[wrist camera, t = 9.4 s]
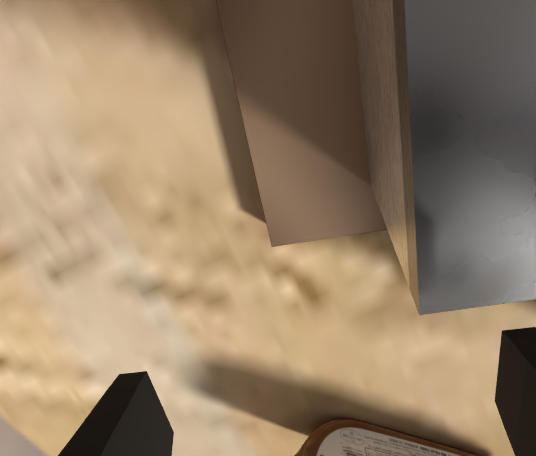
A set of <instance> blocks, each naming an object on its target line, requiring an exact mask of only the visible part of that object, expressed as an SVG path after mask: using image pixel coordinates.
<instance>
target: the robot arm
mask: <svg viewBox="0 0 536 456" xmlns="http://www.w3.org/2000/svg"><path fill="white" fill-rule="evenodd" d="M495 403H496V405H497V408H498V411H499V414H500V416H501V419H502V422H503V425H504V428H505V430H506V433H507V435H508V438H509V441H510V443H511V446H512V448H513V451H514V453H515V456H536V328H535V327H531V328H522V329H514V330H505V331H502V336H501V346H500V355H499V365H498V375H497V385H496V394H495ZM173 434H174V432H173V430H172V428H171V425H170V423H169V421H168V418H167V416H166V414H165V412H164V409H163V407H162V405H161V403H160V400H159V398H158V396H157V394H156V391H155V389H154V387H153V385H152V382H151V380H150V378H149V376H148V373H147V371H144V372H136V373H127V374H119V375H118V377H117V378H116V379H115V380H114V382H113V383H112V384H111V386H110V387H109V388H108V390H107V391H106V392H105V394H104V395H103V396H102V398H101V399H100V400H99V402H98V403H97V404H96V406H95V407H94V408H93V410H92V411H91V413H90V414H89V415H88V417H87V418H86V419H85V421H84V422H83V423H82V425H81V426H80V427H79V429H78V430H77V431H76V433H75V434H74V435H73V437H72V438H71V439H70V441H69V442H68V443H67V445H66V446H65V447H64V449H63V450H62V451H61V452H60V454H59V455H58V456H171V455H172V445H173Z"/></svg>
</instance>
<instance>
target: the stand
mask: <svg viewBox="0 0 536 456" xmlns="http://www.w3.org/2000/svg"><path fill="white" fill-rule="evenodd" d="M216 4H217V8H218V13H219V17H220V22H221V26H222V30H223V35H224V39H225V44H226V48H227V52H228V57H229V61H230V66H231V70H232V74H233V79H234V83H235V88H236V92H237V96H238V101H239V105H240V110H241V114H242V118H243V123H244V127H245V132H246V136H247V140H248V145H249V149H250V154H251V158H252V162H253V167H254V171H255V176H256V180H257V184H258V189H259V193H260V198H261V202H262V206H263V211H264V215H265V220H266V224H267V228H268V233H269V237H270V242H271V246H272V247H275V246H281V245H288V244H294V243H301V242H308V241H314V240H321V239H327V238H334V237H341V236H347V235H354V234H360V233H367V232H374V231H380V230H387V228H386V225H385V222H384V220H383V217H382V214H381V212H380V209H379V206H378V204H377V201H376V198H375V196H374V193H373V190H372V188H371V184H370V174H369V164H368V154H367V143H366V133H365V123H364V113H363V103H362V93H361V83H360V73H359V63H358V52H357V42H356V32H355V22H354V12H353V2H352V0H216Z"/></svg>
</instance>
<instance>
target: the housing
mask: <svg viewBox="0 0 536 456" xmlns="http://www.w3.org/2000/svg"><path fill="white" fill-rule="evenodd" d="M352 2H353V12H354V22H355V32H356V42H357V52H358V63H359V73H360V83H361V93H362V103H363V113H364V123H365V133H366V143H367V154H368V164H369V174H370V184H371V188H372V190H373V193H374V196H375V198H376V201H377V204H378V206H379V209H380V212H381V214H382V217H383V220H384V222H385V225H386V228H387V230H388V233H389V235H390V238H391V241H392V243H393V246H394V249H395V251H396V254H397V257H398V259H399V262H400V265H401V267H402V270H403V273H404V275H405V278H406V281H407V283H408V286H409V289H410V291H411V294H412V296H413V299H414V302H415V304H416V307H417V310H418V312H419V315H423V314H430V313H438V312H445V311H453V310H460V309H467V308H475V307H482V306H490V305H497V304H505V303H512V302H519V301H527V300H534V299H536V0H352Z"/></svg>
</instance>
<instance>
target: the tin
mask: <svg viewBox="0 0 536 456" xmlns="http://www.w3.org/2000/svg"><path fill="white" fill-rule="evenodd" d="M294 456H477V455H474V454H472V453H468V452H465V451H462V450H458V449H455V448H451V447H448V446H445V445H441V444H438V443H434V442H431V441H428V440H424V439H421V438H417V437H414V436H410V435H407V434H403V433H400V432H397V431H393V430H390V429H386V428H383V427H379V426H376V425H372V424H369V423H365V422H362V421H357V420H351V419H340V420H333V421H330V422H328V423H325V424H323V425H322V426H320V427H318V428H317V429H316V430H315V431H314V432H313V433H312V434H311V435H310V436H309V437H308V438H307V440H306V441H305V442H304V444H303V445H302V447H301V448H300V450H299V452H298V453H297V454H295V455H294Z"/></svg>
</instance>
